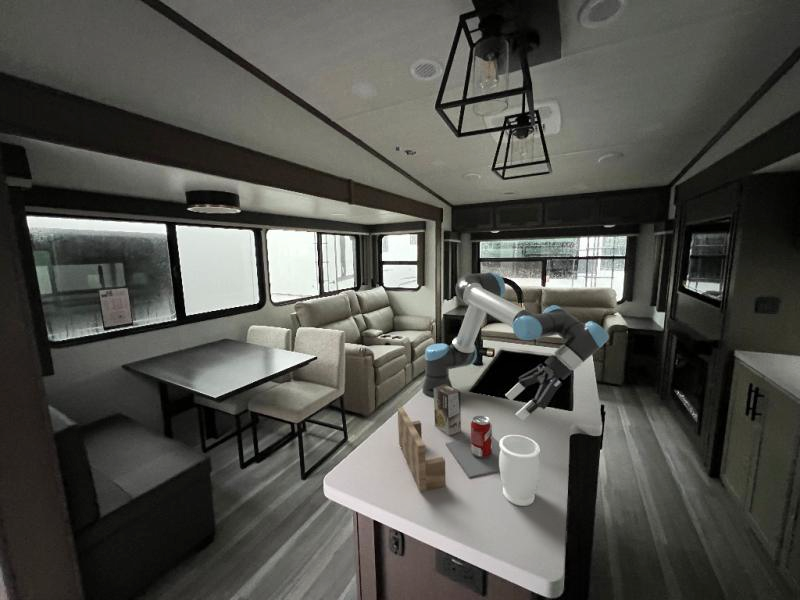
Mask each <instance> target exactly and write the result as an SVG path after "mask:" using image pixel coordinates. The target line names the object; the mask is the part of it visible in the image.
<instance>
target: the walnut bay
mask: <svg viewBox="0 0 800 600" xmlns="http://www.w3.org/2000/svg"><path fill="white" fill-rule="evenodd" d="M397 427H398V428H397V430H398V446H399V445H400V446H399V448H400V447H401V448H400V451H401V450H402V451H401V452H403V453H402V455H403V454H404V455H403V457H404V459H406V460H405V462H406V461H407V462H406V463H407V466H409V467H408V469H409V471H410V473H411V476H412V478H413V481H414V483H415V485H416V486H417V489H418V492H419V493H422V492H425V491H430V490H435V489H440V488H443V487H446V480H447V479H446V459H445V458H444V457H443V456H438V457H433V458H429V459H426V444H425V443H424V441H423V436H422V433H423V431H422V422H421V421H420V420H415V421H411V419H410V416H409V415H408V414H407V412H406V410H405V409H404V407H398V408H397Z"/></svg>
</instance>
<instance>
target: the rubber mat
mask: <svg viewBox="0 0 800 600" xmlns="http://www.w3.org/2000/svg"><path fill="white" fill-rule="evenodd" d="M445 446H446V448H447V449H448V450H449V451H450V453H451V454H452V456H453V458H454V459H455V460H456V461H457V463H458V465H459V467H461V469H462V470H463V472H464V473H465V475H466V476H467V478H468V479H473V478H476V477H481V476H485V475H490V474H494V473H498V472H499V473H500V468H499V455H500V450H501V449H500V446H499V441H498V440H497V439H496V438H495V437H494V436H493V435H492V454H491V455H490V456H489V457H486V458H480V457H477V456H475V455H473V454H472V452H471V438H467V439H462V440H456V441H450V442H446V443H445Z"/></svg>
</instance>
